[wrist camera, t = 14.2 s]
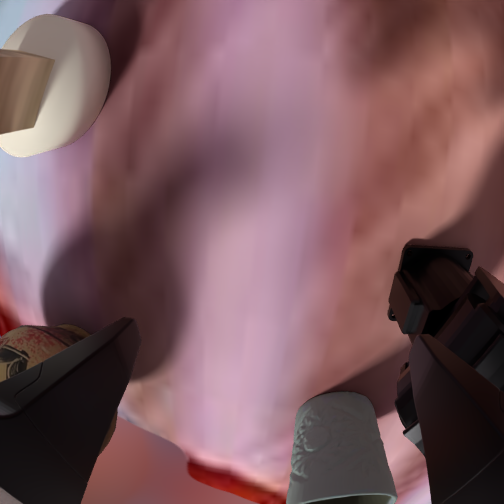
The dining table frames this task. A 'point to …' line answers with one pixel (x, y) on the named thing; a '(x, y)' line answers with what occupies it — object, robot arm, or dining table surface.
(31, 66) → the maple block
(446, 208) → the dining table surface
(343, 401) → the grey cup
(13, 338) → the ceramic jug
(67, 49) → the cream plinth
